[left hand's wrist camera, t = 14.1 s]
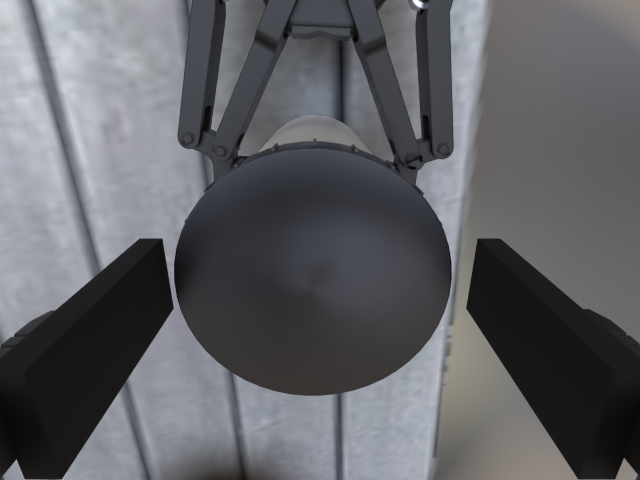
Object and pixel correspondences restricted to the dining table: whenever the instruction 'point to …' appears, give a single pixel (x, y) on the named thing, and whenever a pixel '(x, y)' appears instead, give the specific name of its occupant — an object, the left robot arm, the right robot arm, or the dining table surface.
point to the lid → (312, 269)
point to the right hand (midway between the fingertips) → (312, 259)
